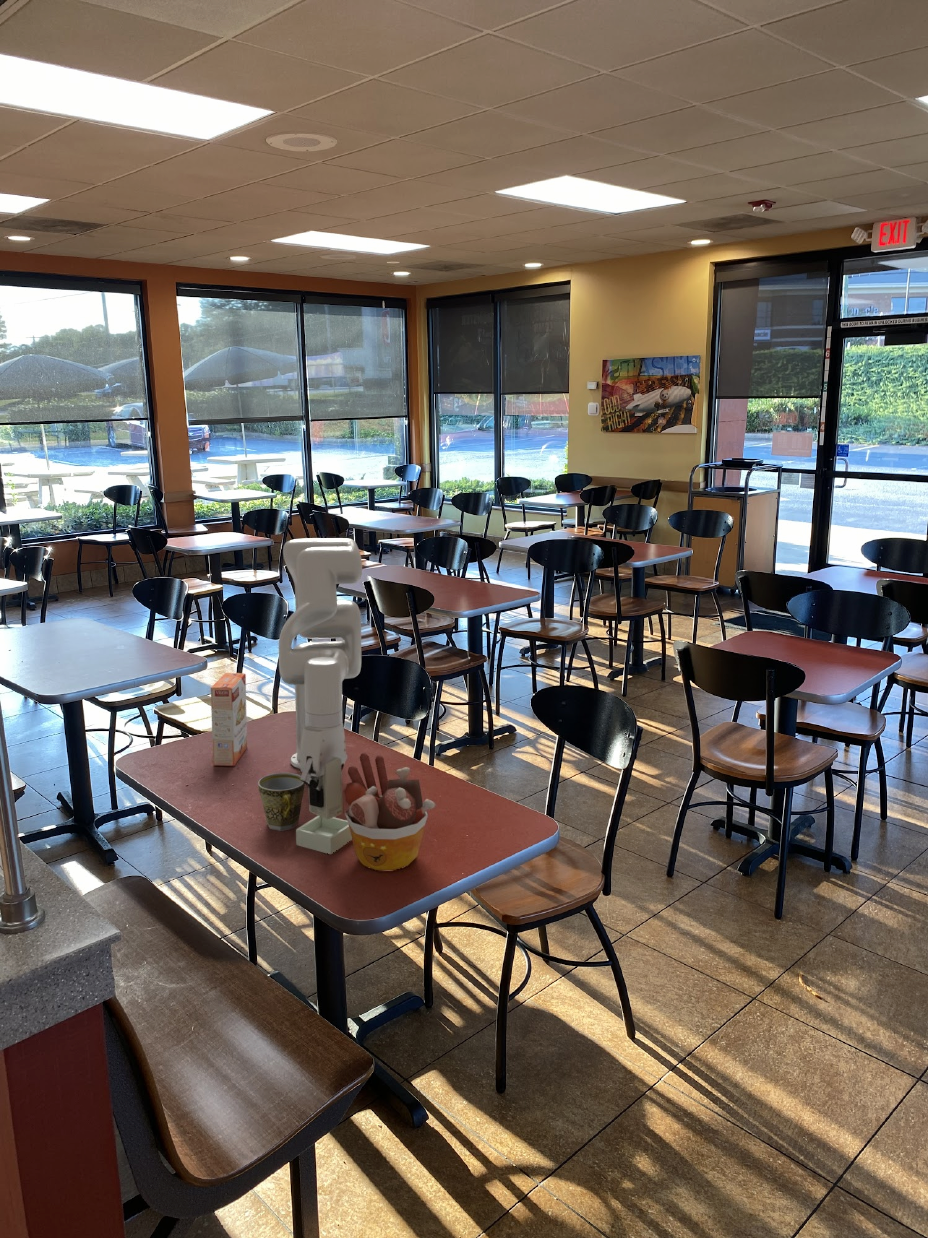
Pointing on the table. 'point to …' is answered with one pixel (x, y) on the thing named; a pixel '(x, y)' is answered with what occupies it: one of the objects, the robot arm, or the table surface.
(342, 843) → the holder
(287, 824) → the ceramic cup
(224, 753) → the cracker box
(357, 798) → the bucket of meat
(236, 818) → the table surface
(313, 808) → the skincare box
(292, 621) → the robot arm
